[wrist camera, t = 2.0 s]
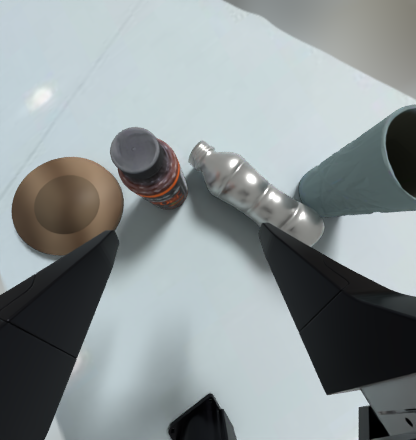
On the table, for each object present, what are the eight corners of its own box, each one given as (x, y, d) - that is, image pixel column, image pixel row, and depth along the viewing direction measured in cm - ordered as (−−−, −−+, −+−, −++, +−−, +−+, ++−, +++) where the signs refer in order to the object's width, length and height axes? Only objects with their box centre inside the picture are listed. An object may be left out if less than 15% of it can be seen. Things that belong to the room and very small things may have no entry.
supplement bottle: (162, 217, 23) (116, 200, 12) (143, 184, 23) (82, 137, 12) (196, 197, 23) (184, 161, 12) (176, 165, 24) (147, 102, 12)
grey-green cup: (318, 154, 27) (417, 84, 15) (361, 194, 26) (499, 155, 14) (282, 193, 25) (361, 150, 13) (328, 236, 25) (451, 232, 13)
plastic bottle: (338, 213, 19) (216, 120, 20) (326, 255, 17) (183, 146, 17) (298, 228, 25) (205, 156, 26) (284, 261, 22) (179, 179, 23)
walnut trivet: (46, 274, 20) (38, 276, 19) (3, 188, 22) (-7, 185, 20) (140, 222, 22) (137, 221, 21) (97, 145, 23) (92, 141, 22)
